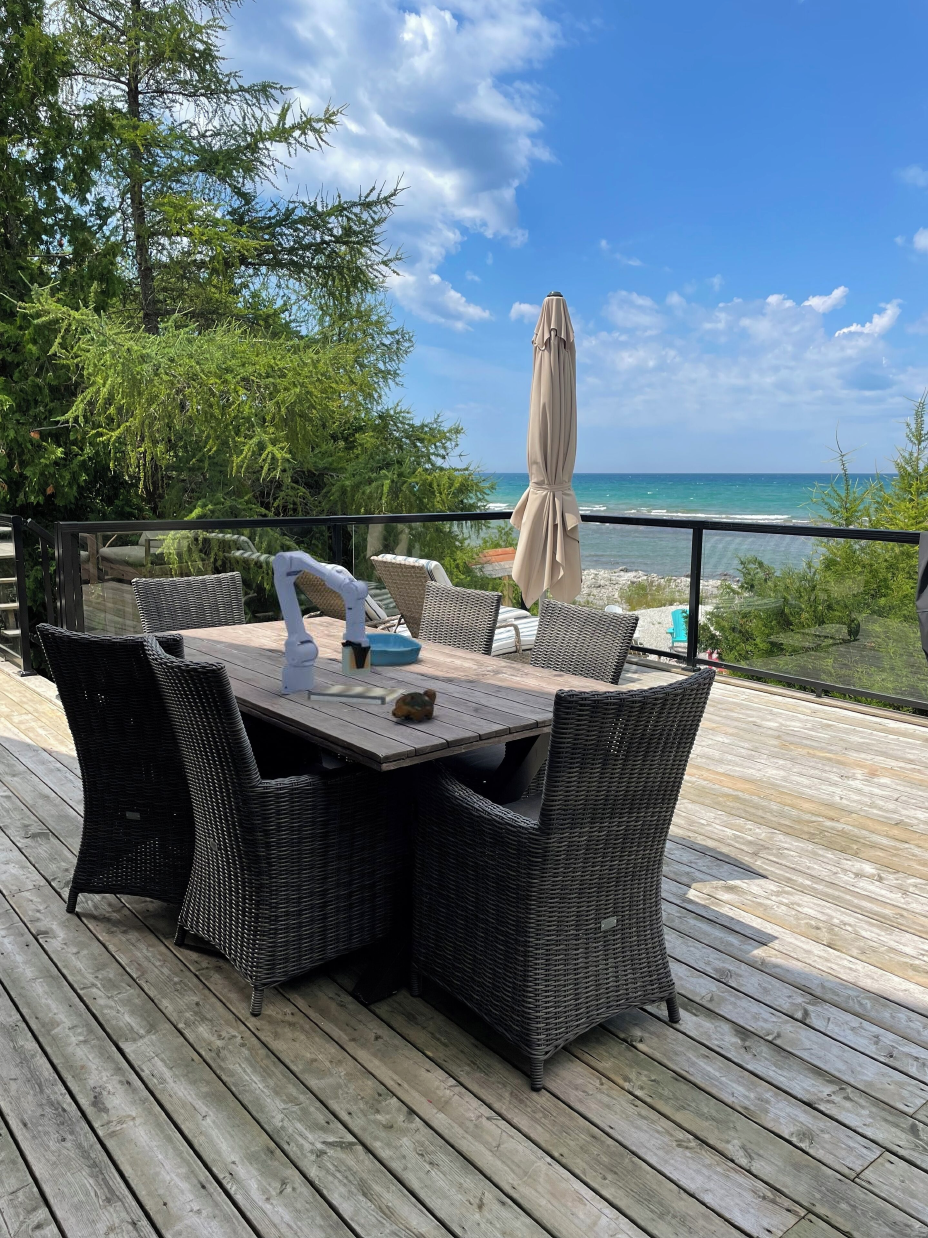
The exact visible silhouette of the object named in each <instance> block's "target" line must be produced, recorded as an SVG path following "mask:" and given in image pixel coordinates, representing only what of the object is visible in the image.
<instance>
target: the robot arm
mask: <svg viewBox="0 0 928 1238" xmlns="http://www.w3.org/2000/svg"><path fill="white" fill-rule="evenodd" d="M271 566H272V568H273V573H274V575H273V583H274V587H275V590H276V594H277V598H278V602H279V605H280V610H281V613H282V617H283V621H284V624H285V625H284V626H285V627H286V632H287V636H288V637H287V638H286V640H285V641H284V644H283V645H284V649H285V650H284V657H285V661H286V662H287V664H284V665H283V667H282V670H281V685H282V686H281V687H282V689H281V692H280V693H281V694H283V695H291V694H293V693H296V692H298V691H311V690H313V689H315V663H316V660H317V658H318V657H319V648H318V645H317V644H316V642H315V641H314V637H313V636H312V635H311V634H310V633H308V632H307V631H306V627H305V624H304V619H303V616H302V611H301V609H300V604H299V601H298V597H297V594H296V593H297V592H296V590H295V585H294V583H295V581H296V579H297V577H298V576H300V575H301V574H302V573H303V572H304V571H305V572H308V573H310V574H312V575H314V576H316V577H318V578H320V579H322V580H324V583H325V586H327V587H328V588H330V589H332V591H335V592H337V593H338V594H340V595H341V597H342V599H343V600H344V606H345V633H342V640H343V641H342V642H341V643H340V645H341V646H342V647H349V646H351V648H352V650H353V652H354V656H355V662H356V668H357V669H362V668H364V666H365V661H366V657H367V654H368V652H369V650H370V648H371V646H370V645H369V640H368V639H367V637H366V636H365V634H366V598H368V595H369V591H370V590H369V587H368V584H367V583H366V582H364V581H363V580H360V579H359V580H355V578H354V577H353V576H349V575H347V574H345V573H343V570H342V569H340V568H339V569H338V568H337V569H336V568H334V569H329V568H327V567H326V566H325V565H323V564H322V563H320V562H319V561H318V560H315V559H314V558H313V557H312V556H311V555H310V554H309V553H306V552H304V551H303V550H296V551H294V550H293V551H285V552H283V551H281V552H280V551H279V552H278V553H277V554H276V555H275V556H274V557H273V560H272V562H271Z"/></svg>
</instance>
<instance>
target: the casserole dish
mask: <svg viewBox="0 0 928 1238" xmlns="http://www.w3.org/2000/svg"><path fill="white" fill-rule="evenodd" d="M365 636H366V637H367V639H368V640H369V645H370V646H371V648H370V665H372V666H378V667H383V666H396V665H398V666H399V665H410V664H414V663H415V662H416V661H417V660H418V658H419V656H420V652H421V650H422V648H423V645H422V644H421V643H420V642H418V641H416V640H414V639H413V638H410V637H408V636H405V635H404V634H401V633H388V632H387V633H386V632H385V633H384V632H383V633H382V632H368V633H365Z"/></svg>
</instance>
